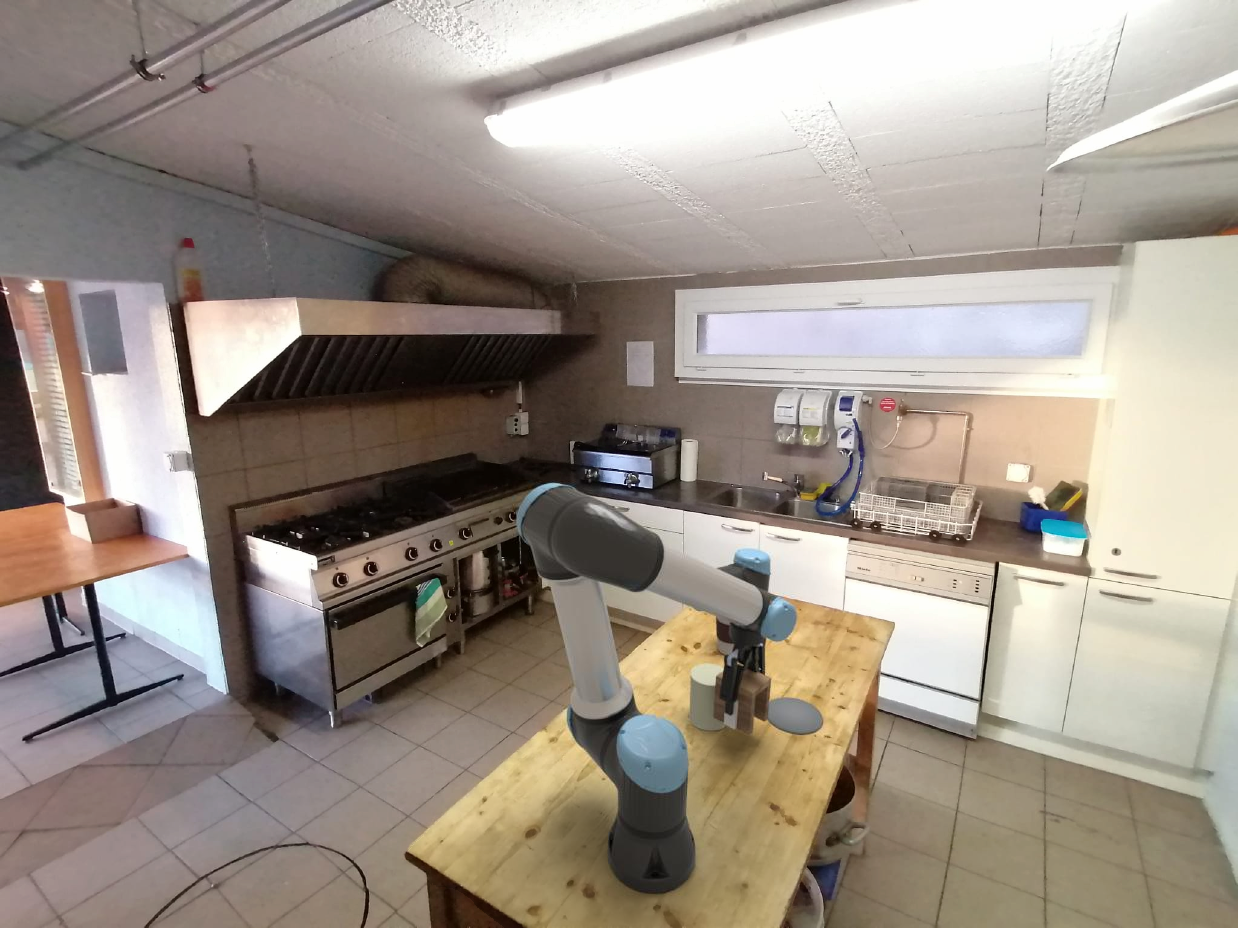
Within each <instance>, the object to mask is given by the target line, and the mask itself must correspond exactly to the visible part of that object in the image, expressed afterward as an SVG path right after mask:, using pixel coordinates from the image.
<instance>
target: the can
mask: <svg viewBox="0 0 1238 928" xmlns="http://www.w3.org/2000/svg"><path fill="white" fill-rule="evenodd" d="M723 670H724V666H721V665H719V664H715V663H700V664H697V665H695V666H693V667H692V668H691V669H690V671H689V674H690V677H689V678H690V683H689V684H690V685H689V713H688V719H689V721H690V723H691V724H692V725H693V726H694V727H696V728H698V729H700V730H703V731H708V732H710V731H711V732H714V731H718V730H719V731H720V730H722V729H724V728H725V727H726V726H727V725H725V724H724V723H723V722H721V721H719V720H717V719H715V718H713V714H714V698H715V683H716V676H717V675H718V674H720V673H721V672H723Z"/></svg>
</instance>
